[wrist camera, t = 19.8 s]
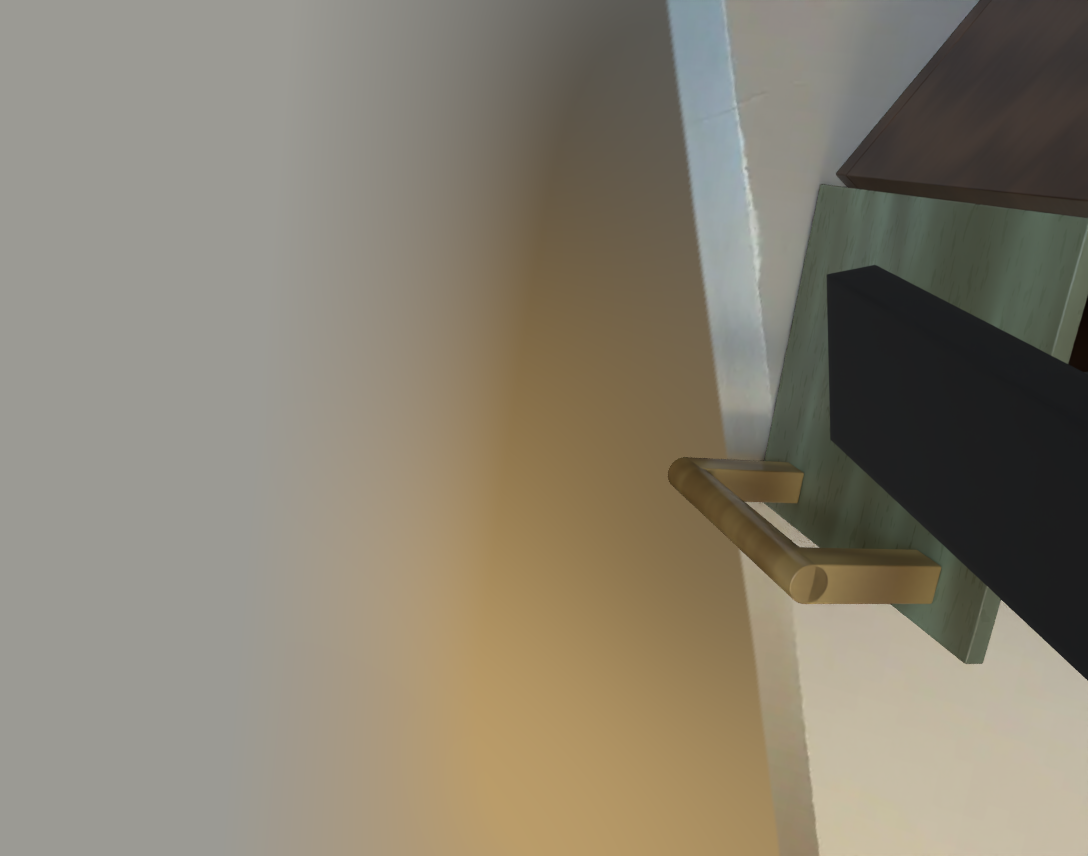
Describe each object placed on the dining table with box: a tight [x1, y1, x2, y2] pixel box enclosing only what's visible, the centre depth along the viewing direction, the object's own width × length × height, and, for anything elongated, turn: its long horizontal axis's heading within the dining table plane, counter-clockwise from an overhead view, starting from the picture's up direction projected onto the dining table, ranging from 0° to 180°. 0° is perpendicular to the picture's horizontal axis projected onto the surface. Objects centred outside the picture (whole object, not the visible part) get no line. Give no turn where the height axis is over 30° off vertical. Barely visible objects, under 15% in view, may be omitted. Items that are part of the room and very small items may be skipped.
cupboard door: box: [668, 184, 1088, 664], centre depth 40 cm, size 7×16×17 cm, turn 172°
